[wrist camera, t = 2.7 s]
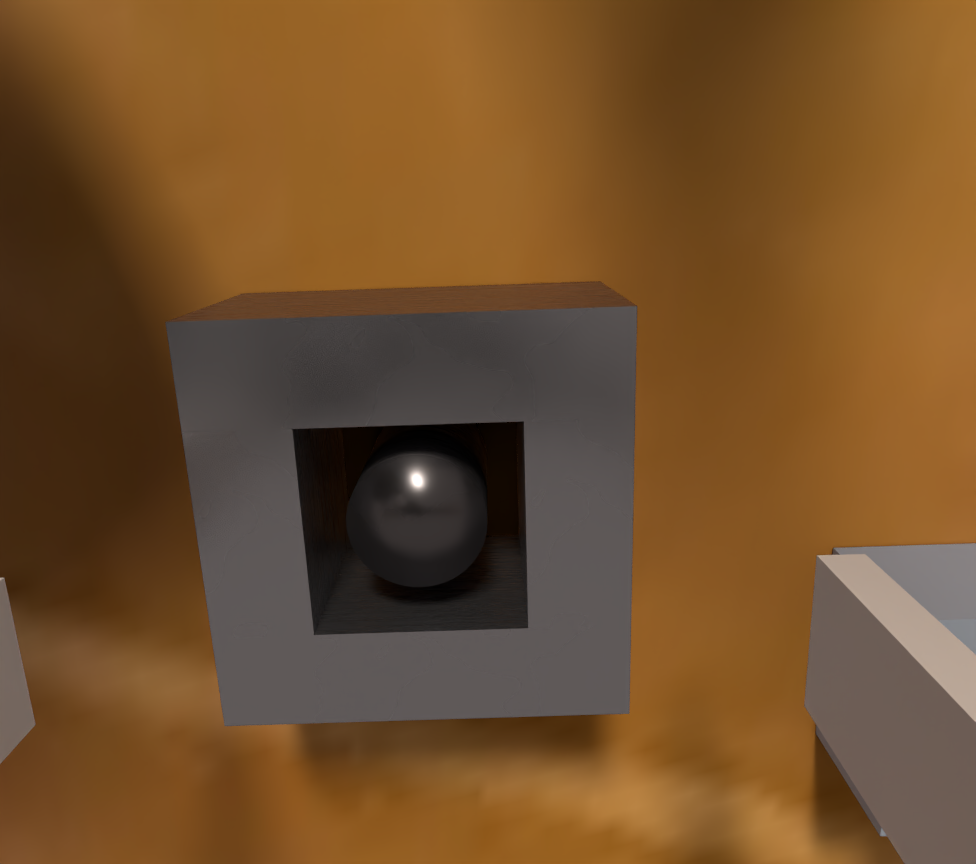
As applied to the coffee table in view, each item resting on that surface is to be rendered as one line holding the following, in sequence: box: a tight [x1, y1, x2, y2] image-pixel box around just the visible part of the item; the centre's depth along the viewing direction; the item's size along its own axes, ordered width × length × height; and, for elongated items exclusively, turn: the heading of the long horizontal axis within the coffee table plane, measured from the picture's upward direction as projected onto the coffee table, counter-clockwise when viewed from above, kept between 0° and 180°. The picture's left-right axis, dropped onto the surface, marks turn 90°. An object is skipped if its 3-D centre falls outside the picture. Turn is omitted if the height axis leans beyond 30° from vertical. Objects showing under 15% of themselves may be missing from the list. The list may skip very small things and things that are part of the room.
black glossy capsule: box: [346, 423, 487, 587], centre depth 19 cm, size 3×3×4 cm
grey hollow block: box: [166, 282, 637, 726], centre depth 19 cm, size 9×9×5 cm
